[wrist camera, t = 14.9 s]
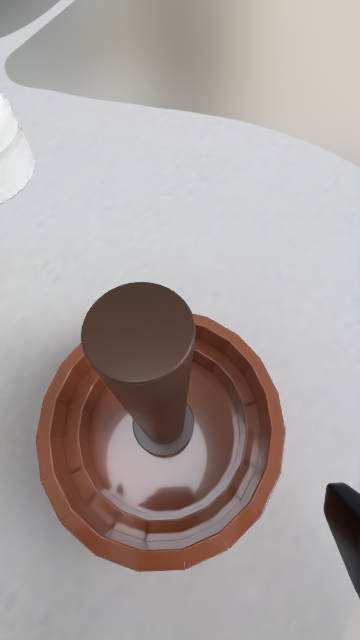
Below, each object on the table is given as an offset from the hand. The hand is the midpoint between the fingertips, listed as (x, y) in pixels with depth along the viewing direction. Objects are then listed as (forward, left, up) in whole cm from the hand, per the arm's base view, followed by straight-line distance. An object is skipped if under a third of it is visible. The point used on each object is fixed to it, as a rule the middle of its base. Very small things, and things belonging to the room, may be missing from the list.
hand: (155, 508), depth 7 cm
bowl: (+3, -2, -11) cm, 12 cm away
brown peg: (+3, -2, -10) cm, 11 cm away
